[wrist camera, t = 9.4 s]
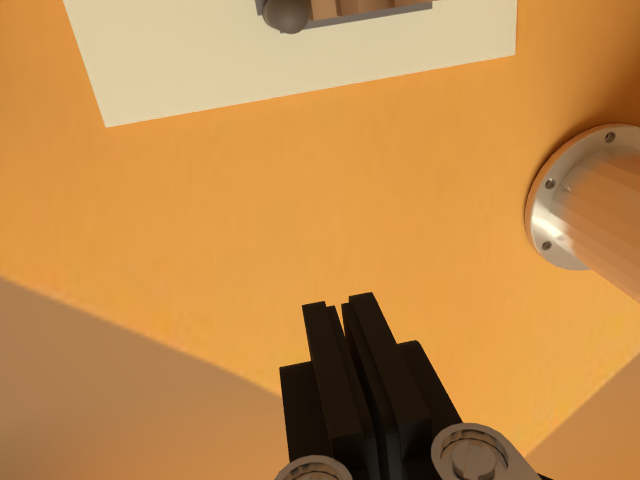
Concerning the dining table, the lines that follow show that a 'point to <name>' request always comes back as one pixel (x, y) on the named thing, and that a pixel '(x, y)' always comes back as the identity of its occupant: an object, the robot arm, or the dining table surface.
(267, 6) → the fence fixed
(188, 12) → the card
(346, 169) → the dining table surface
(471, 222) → the dining table surface
